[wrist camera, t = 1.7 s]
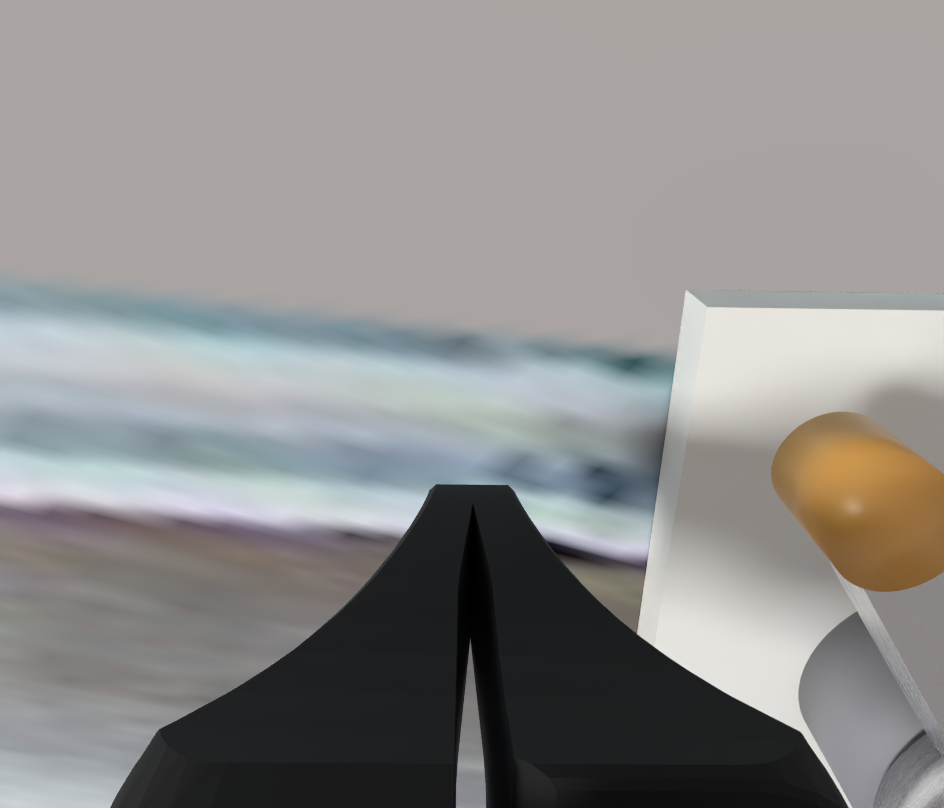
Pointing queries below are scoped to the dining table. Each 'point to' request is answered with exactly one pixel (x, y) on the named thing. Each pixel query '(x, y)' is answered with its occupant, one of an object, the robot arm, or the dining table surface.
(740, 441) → the board
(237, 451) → the dining table surface
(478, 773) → the dining table surface
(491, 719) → the robot arm
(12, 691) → the dining table surface
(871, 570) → the lever with orange knob
